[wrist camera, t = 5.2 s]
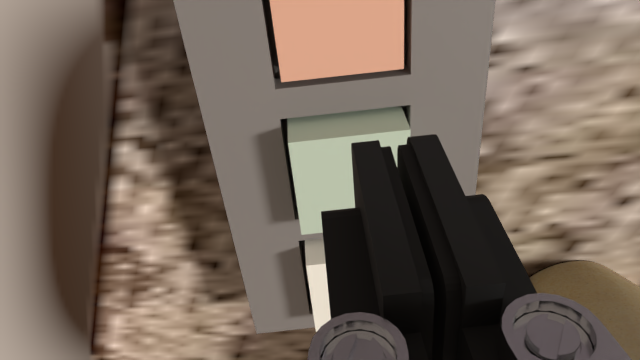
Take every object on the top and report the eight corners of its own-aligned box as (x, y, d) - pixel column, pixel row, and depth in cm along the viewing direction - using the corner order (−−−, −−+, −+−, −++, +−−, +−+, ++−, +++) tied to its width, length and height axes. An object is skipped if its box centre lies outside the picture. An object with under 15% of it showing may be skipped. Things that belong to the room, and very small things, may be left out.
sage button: (399, 190, 26) (409, 222, 24) (299, 201, 26) (301, 234, 24) (399, 101, 23) (410, 129, 21) (287, 113, 23) (287, 143, 21)
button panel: (447, 267, 33) (463, 311, 31) (258, 288, 33) (256, 333, 31) (476, -134, 21) (508, -124, 18) (169, -101, 21) (151, -85, 18)
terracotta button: (393, 45, 24) (403, 68, 21) (281, 57, 24) (281, 82, 21) (392, -78, 21) (404, -64, 19) (264, -64, 21) (262, -49, 19)
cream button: (399, 287, 30) (408, 322, 28) (313, 296, 31) (315, 331, 28) (399, 221, 28) (409, 254, 26) (304, 231, 28) (306, 265, 26)
